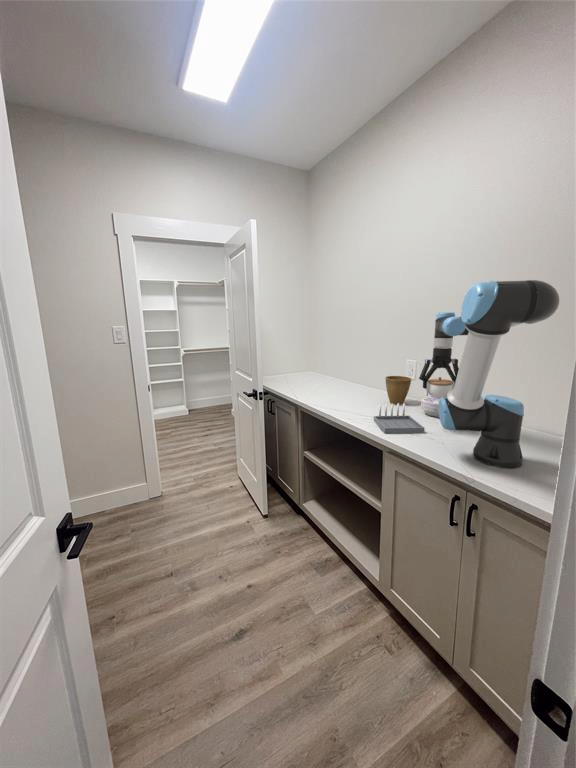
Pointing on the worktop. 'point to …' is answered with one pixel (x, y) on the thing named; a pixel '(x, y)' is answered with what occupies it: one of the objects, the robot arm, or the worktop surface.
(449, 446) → the worktop surface
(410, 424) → the dish rack
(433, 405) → the paper bowls
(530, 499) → the worktop surface
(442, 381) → the lidded jar
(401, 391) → the plant pot
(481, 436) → the robot arm
